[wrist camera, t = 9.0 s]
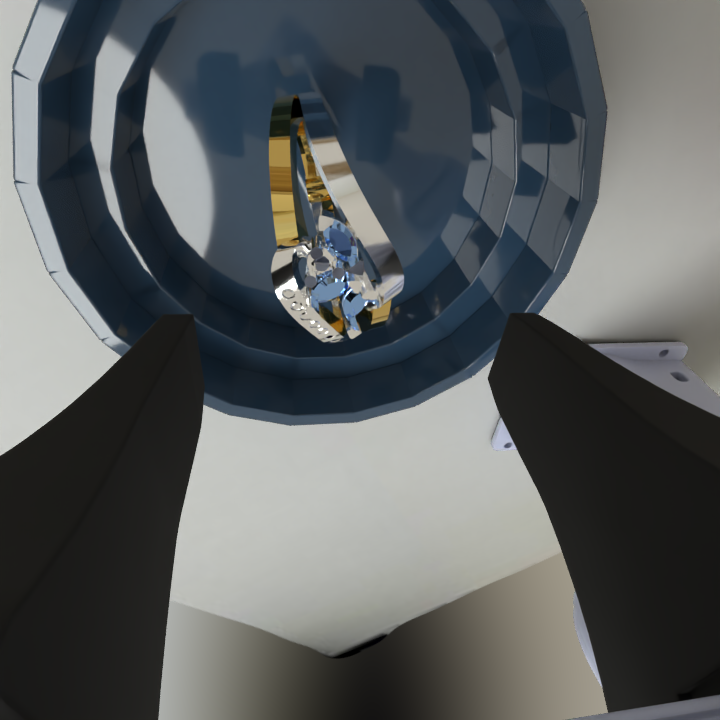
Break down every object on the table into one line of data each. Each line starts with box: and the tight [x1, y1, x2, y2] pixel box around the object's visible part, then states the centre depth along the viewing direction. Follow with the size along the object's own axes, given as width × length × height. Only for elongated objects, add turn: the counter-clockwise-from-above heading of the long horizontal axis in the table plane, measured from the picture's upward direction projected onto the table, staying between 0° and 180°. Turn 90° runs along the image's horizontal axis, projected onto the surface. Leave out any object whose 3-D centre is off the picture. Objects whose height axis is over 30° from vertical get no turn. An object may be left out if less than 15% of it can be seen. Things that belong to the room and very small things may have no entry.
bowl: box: [11, 0, 607, 426], centre depth 16 cm, size 16×16×5 cm
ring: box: [269, 91, 404, 344], centre depth 14 cm, size 7×3×8 cm, turn 5°
